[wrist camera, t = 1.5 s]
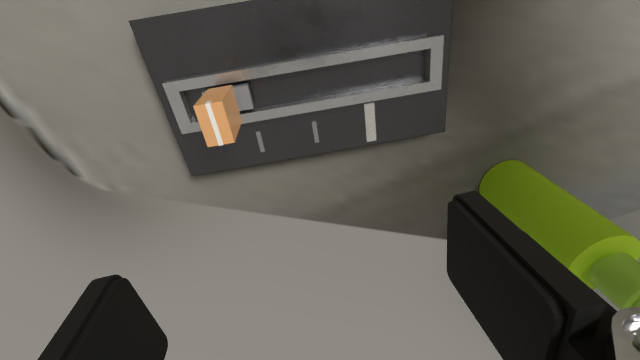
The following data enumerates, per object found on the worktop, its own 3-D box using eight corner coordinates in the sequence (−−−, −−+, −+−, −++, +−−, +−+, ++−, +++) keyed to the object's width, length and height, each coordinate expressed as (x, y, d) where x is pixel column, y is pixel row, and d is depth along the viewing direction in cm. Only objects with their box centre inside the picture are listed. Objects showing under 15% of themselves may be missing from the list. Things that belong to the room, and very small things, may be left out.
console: (142, 19, 25) (122, 21, 22) (439, -31, 25) (461, -35, 22) (198, 164, 31) (188, 181, 28) (433, 122, 32) (449, 135, 29)
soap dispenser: (546, 163, 36) (795, 317, 18) (504, 209, 38) (685, 380, 21) (510, 143, 34) (747, 292, 17) (468, 193, 37) (635, 366, 19)
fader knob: (201, 84, 25) (178, 108, 19) (246, 76, 25) (236, 98, 19) (213, 118, 26) (194, 150, 21) (255, 111, 26) (248, 140, 21)
